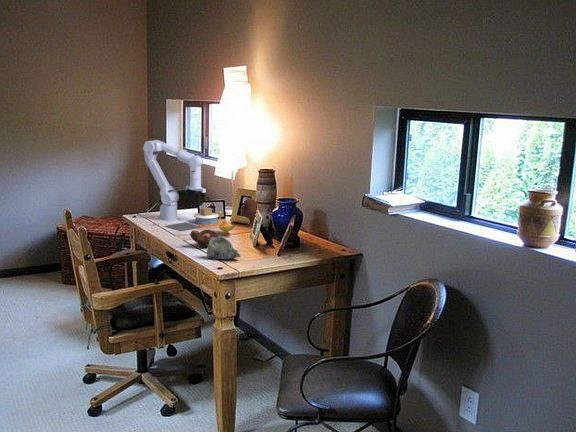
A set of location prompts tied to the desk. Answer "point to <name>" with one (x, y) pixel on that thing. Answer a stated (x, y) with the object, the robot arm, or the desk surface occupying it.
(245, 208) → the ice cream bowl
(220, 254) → the mineral rock
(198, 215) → the lid
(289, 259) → the desk surface
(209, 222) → the dish
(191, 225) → the mat
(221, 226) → the magic lamp
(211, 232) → the decorative turtle
